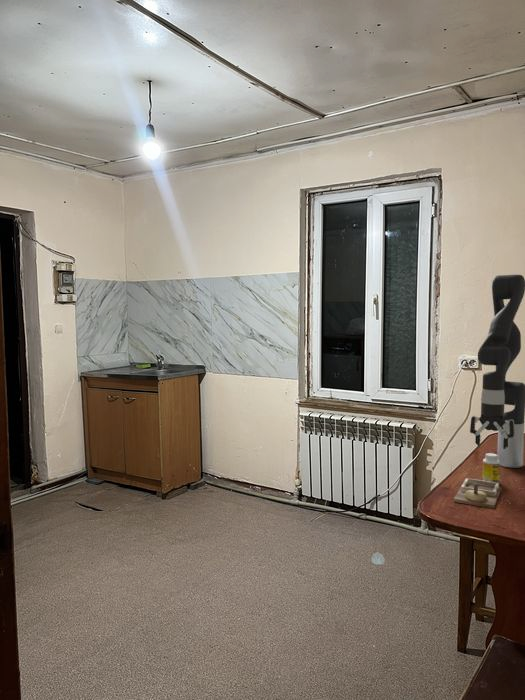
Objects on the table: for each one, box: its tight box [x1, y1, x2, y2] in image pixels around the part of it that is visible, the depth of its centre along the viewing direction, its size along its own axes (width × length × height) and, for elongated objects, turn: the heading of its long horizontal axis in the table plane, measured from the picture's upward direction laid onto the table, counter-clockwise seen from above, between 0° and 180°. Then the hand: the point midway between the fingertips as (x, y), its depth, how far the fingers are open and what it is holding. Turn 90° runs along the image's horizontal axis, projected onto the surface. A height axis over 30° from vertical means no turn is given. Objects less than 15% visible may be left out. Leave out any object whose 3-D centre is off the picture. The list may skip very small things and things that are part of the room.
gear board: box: [453, 477, 502, 509], centre depth 174 cm, size 19×12×6 cm, turn 149°
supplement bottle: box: [481, 452, 501, 484], centre depth 187 cm, size 6×6×10 cm
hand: (491, 446), depth 186 cm, fingers open, 8 cm apart
